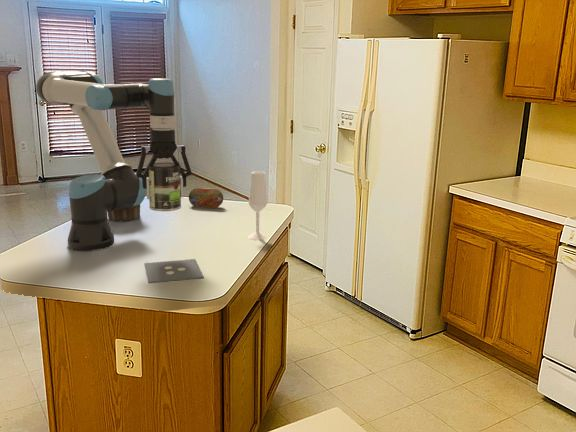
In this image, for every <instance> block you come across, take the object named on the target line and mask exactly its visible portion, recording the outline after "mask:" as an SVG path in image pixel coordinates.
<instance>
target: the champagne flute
mask: <svg viewBox="0 0 576 432" xmlns="http://www.w3.org/2000/svg"><path fill="white" fill-rule="evenodd" d="M250 174H251V175H250V183H249V184H250V185H249V192H248V193H249V195H248V204H249V206H250V208H251V209H252V210H254V212H255V232H253V233H252V234H249V235H248V239H250V240H253V241H262V240H265V239H267V235H265V234H263V233H261V232H260V212H261V211H262V210H264V209H265V208H266V206H267V205H268V198H267V197H268V195H267V185H266V184H267V182H266V172H265V171H258V170H257V171H251V173H250Z"/></svg>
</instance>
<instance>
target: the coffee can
mask: <svg viewBox="0 0 576 432" xmlns="http://www.w3.org/2000/svg"><path fill="white" fill-rule="evenodd" d="M147 166H148V165H147ZM180 166H181V164H180V165H179V166H176V165H175V164H174V162H168V161H167V162H164V161H163V162H155V163H154V165H153V167H151V166H148V168H149V174H148V176H147V178H149V193H150V199H148V200H149V202H148V203H149V209H150V210H151V211H155V212H172V211H178V210H180V209H182V198H181V189H180V176H181V173H180Z"/></svg>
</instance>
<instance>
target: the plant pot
mask: <svg viewBox="0 0 576 432" xmlns="http://www.w3.org/2000/svg"><path fill="white" fill-rule="evenodd" d="M140 217H141V204H139V205H136V206H133V207H130V208H129V207H128V208H123V209H118V210H113V211H108V212H107V218H108V220H109V221H113V222H117V223H118V222H122V223H123V222H125V221H128V222H131V221H135V220H137V219H140Z"/></svg>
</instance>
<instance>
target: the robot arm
mask: <svg viewBox="0 0 576 432" xmlns="http://www.w3.org/2000/svg"><path fill="white" fill-rule="evenodd" d="M174 89H175V88H174V81H173V80H172V79H171V78H163V77H162V78H159V77H157V78H150V79H148V83H142V82H132V83H117V84H114V83H109V84H108V83H107V84H106V83H103V80H102V79H101V77H100V76H99V75H98V74H96V73H95V72H92V71H86V70H79V71H58V70H57V71H49V72H47V73H45V74H42V76H40V77H39V78H38V80H37V81H36V85H35V91H36V94H37V95H38V97H39V99H40V100H41V101H43V102H45V104H49V105H53V106H67V105H68V106H69V108H70V110H71V112H72V113H73V114H74V115H77V116H78V119H79V120H80V123H81V125H82V127H83V130H84V132H85V134H86V137H87V139H88V142H89V144H90V147H91V149H92V152H93V154H94V157H95V159H96V162H97V164H98V166H99V169H100V171H101V173H100V174H96V173H94V174H86V175H81V176H77V177H76V178H75V177H74V179H72V180H71V181H70V182H69V184H68V197H69V207H70V217H71V226H70V229H69V233H68V237H67V247H68V248H70V249H71V250H75V251H81V252H93V251H97V250H98V251H101V250H104V249H107V248H110V247H112V246H113V245H114V244H115V236H114V235H115V234H114V233H113V230H112V228H111V226H110V224H109V221H108V220H109V218H108V211H113V210H118V209H123V208H128V207H129V208H130V207H133V206H136V205H139V204H140V205H141V204H142V203H143V201H144V200H145V198H146V199H147V200H149V199H150V193H149V178H148V174H149V168H148V166H151V167H153V165H154V163H157V162H156V161H157V160H159V159H161V160H163V159H171V160H172V163H174V164H175V165H176V166H179V165H180V189H181V199H182V198H184V188H186V187H187V177H189V176H192V175H193V172H192V170H191V166H190V164H189V161H188V158H187V155H186V146H185V145H184V144H181V145H177V144H176V130H175V127H176V126H175V124H176V123H175V90H174ZM142 108H143V109H144V108H145V109H149V122H150V123H149V126H150V128H151V129H150V144H149V145H146V146H145V145H141V147H140V148H141V149H140V151H141V155H140V158H139V161H138V165H137V170H136V172H134V170H133V168H132V166H131V165H130V164H128V163H126V162H125V160H124V157H123V155H122V153H121V150H120V147H119V145H118V144H117V141H116V139H115V136H114V134H113V131H112V129H111V127H110V125H109V123H108V119H107V117H106V115H105V113H104V111H107V110H119V109H142ZM177 150H178V152H179V153H180V155H181V158H182V161H183V165H184V166H185V171H184V169H183V167H182V166H181V164H180V163H179V161H178V159H177V158H176V156H175V155H174V154H175V152H176V151H177ZM149 151H151V152H152V156H151V158H150V160H149V162H148V164H147V165H146V167H145V169H144V171H143V167H144V164H145V161H146V156H147V154H148V153H149ZM142 172H143V173H142Z"/></svg>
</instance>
